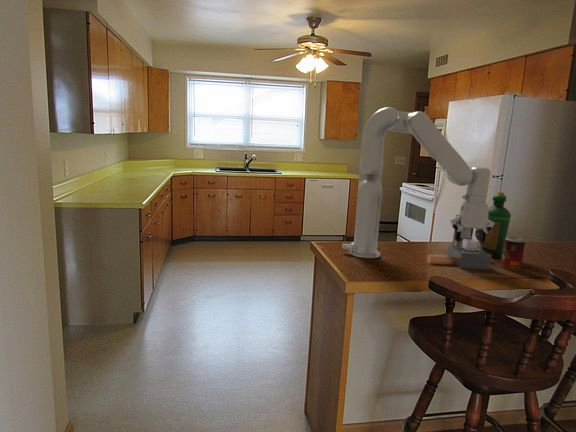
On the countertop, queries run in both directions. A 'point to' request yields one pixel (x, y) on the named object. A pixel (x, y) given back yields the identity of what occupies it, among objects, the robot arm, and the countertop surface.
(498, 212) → the bottle
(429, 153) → the robot arm
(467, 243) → the steel wedge
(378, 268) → the countertop surface
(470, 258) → the bracket head
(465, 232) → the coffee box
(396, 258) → the countertop surface
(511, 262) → the soda can
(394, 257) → the countertop surface
